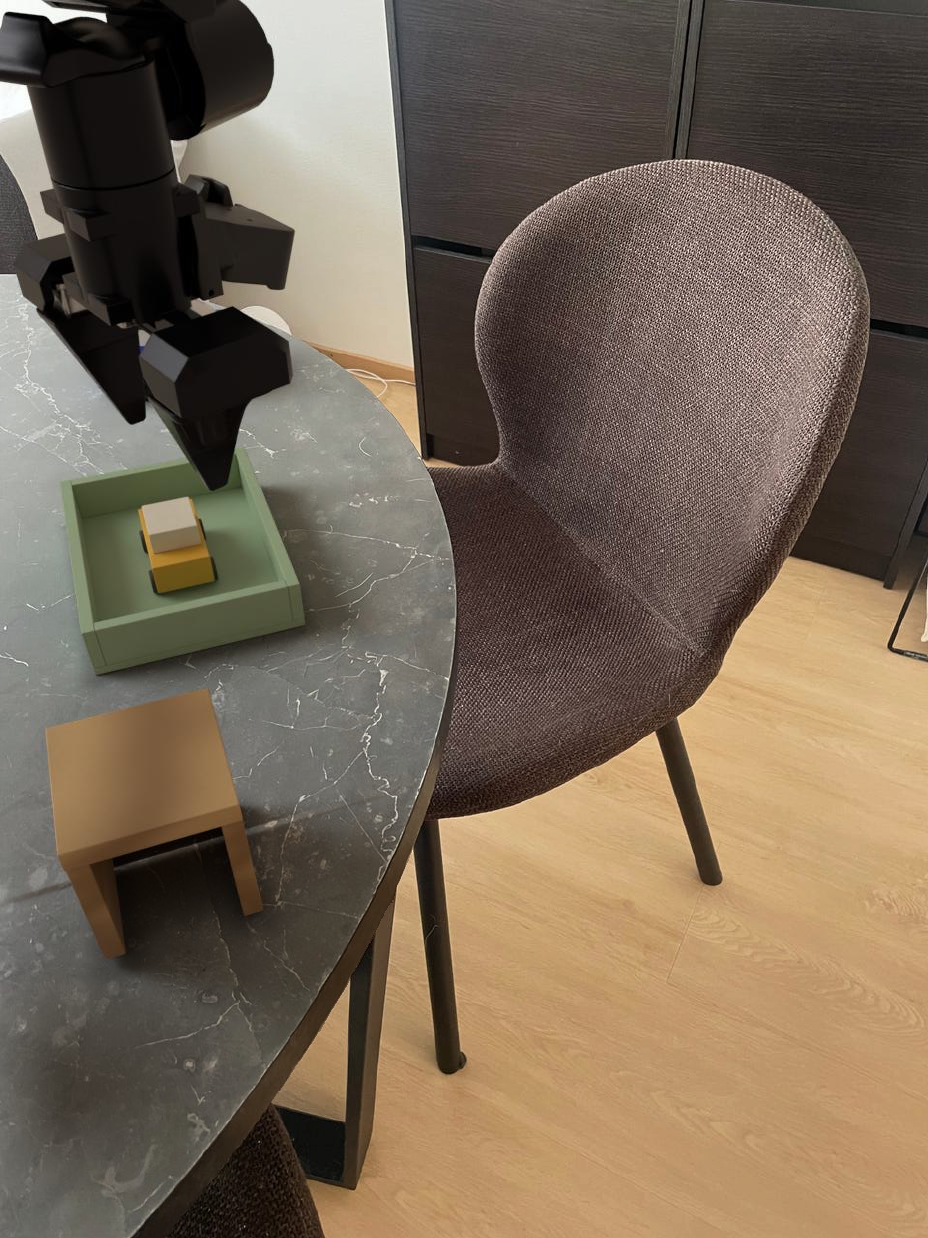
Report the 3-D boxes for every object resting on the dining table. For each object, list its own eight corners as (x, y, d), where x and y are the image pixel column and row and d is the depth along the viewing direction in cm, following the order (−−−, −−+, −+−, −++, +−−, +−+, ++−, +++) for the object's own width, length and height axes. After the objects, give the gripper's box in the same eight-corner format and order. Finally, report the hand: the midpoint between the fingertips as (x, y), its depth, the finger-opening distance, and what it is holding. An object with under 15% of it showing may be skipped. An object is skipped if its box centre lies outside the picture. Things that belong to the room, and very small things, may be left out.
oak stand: (105, 966, 49) (56, 856, 43) (90, 841, 54) (44, 728, 48) (265, 915, 51) (239, 804, 45) (234, 800, 56) (208, 687, 50)
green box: (95, 675, 64) (81, 633, 61) (72, 521, 76) (59, 481, 73) (305, 625, 67) (299, 583, 65) (250, 485, 79) (244, 446, 77)
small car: (220, 587, 69) (210, 535, 66) (155, 601, 68) (142, 550, 65) (202, 528, 74) (192, 478, 71) (141, 541, 73) (128, 490, 70)
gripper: (370, 182, 46) (386, 469, 57) (168, 96, 57) (213, 352, 67) (151, 243, 41) (213, 550, 51) (-29, 136, 51) (54, 408, 61)
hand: (175, 453), depth 58 cm, fingers open, 9 cm apart
